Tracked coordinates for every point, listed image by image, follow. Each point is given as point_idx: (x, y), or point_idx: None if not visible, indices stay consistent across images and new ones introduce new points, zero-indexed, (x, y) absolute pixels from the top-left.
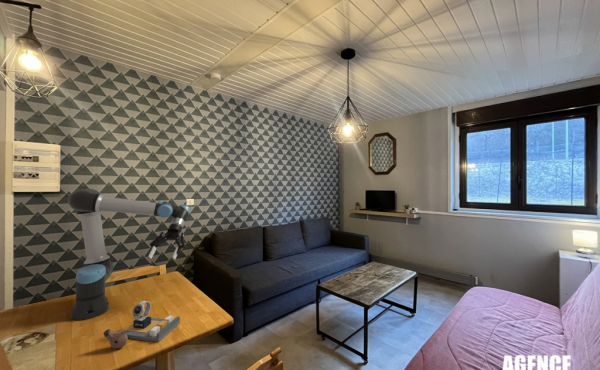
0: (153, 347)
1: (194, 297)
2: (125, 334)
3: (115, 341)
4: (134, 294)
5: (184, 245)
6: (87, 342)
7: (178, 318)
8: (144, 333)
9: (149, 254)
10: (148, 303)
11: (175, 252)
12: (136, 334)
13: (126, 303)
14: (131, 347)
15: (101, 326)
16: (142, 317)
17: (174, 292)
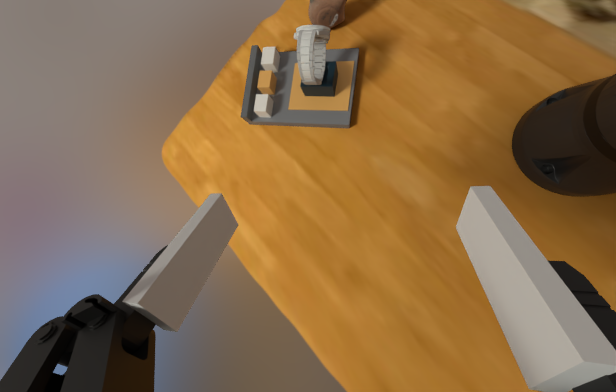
0: (261, 43)
1: (271, 263)
2: (310, 4)
3: (340, 21)
4: None
5: (64, 375)
6: (417, 21)
7: (242, 112)
8: (297, 61)
9: (499, 205)
10: (305, 69)
11: (181, 231)
12: None
13: None
14: None
15: (445, 81)
16: (319, 75)
17: (355, 305)
